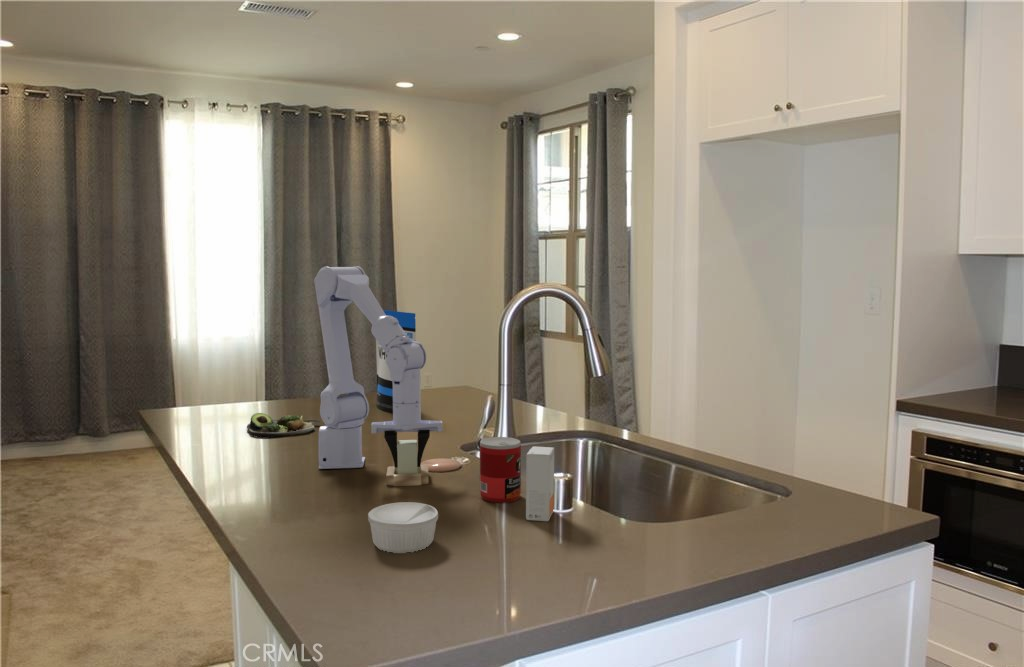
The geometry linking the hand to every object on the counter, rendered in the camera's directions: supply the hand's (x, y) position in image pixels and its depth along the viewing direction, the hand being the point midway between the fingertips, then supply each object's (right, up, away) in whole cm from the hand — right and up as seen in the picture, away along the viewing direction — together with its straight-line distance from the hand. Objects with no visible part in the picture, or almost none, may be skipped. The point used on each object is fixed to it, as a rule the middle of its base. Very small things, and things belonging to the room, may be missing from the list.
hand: (407, 466), depth 164 cm
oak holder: (0, -3, 0) cm, 3 cm away
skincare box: (+27, -5, -23) cm, 36 cm away
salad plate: (-41, +1, +48) cm, 63 cm away
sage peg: (0, -3, 0) cm, 3 cm away
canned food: (+19, -4, -12) cm, 23 cm away
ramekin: (+4, -7, -36) cm, 37 cm away
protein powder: (-14, +4, +78) cm, 79 cm away
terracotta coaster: (+6, -2, +11) cm, 13 cm away
